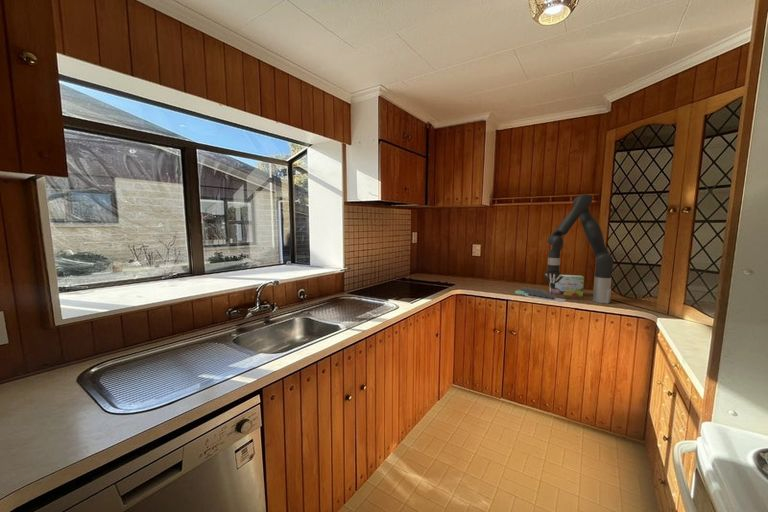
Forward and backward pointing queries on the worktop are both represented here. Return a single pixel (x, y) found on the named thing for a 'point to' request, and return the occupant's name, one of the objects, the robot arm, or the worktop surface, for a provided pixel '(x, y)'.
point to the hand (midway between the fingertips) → (552, 288)
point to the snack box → (568, 286)
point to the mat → (548, 298)
